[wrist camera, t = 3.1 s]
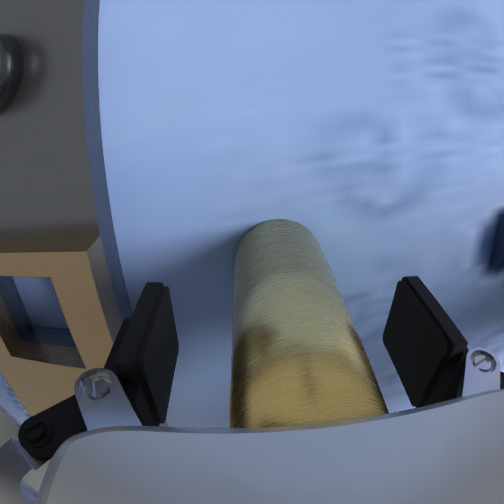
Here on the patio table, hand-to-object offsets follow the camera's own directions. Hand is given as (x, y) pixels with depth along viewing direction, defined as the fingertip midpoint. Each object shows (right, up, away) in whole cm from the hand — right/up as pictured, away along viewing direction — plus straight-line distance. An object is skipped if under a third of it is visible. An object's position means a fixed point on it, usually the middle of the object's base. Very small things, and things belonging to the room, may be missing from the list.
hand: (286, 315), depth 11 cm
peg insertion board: (-13, 0, +4) cm, 13 cm away
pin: (0, +2, +4) cm, 4 cm away
